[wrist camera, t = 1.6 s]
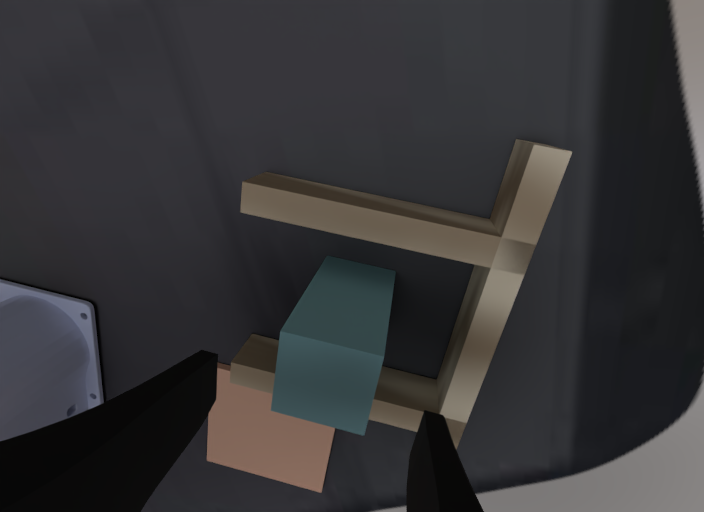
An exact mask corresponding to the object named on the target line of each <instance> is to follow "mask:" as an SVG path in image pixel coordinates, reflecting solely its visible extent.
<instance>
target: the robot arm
mask: <svg viewBox="0 0 704 512" xmlns="http://www.w3.org/2000/svg"><path fill="white" fill-rule="evenodd" d="M217 366H218V354H215V353H211V352H208V351H204V350H201V351H199V352H197V353H195V354H193V355H192V356H190V357H188V358H186V359H185V360H183V361H181V362H179V363H178V364H176V365H174V366H173V367H171V368H169V369H167V370H166V371H164V372H162V373H160V374H159V375H157V376H155V377H153V378H151V379H150V380H148V381H146V382H144V383H142V384H140V385H139V386H137V387H135V388H133V389H131V390H129V391H127V392H125V393H123V394H121V395H119V396H117V397H115V398H113V399H111V400H109V401H107V402H105V403H104V399H103V389H102V380H101V370H100V360H99V350H98V341H97V331H96V321H95V312H94V306H93V305H92V304H91V303H90V302H88V301H85V300H81V299H77V298H73V297H69V296H65V295H61V294H57V293H53V292H49V291H45V290H41V289H37V288H33V287H29V286H25V285H21V284H17V283H13V282H9V281H5V280H1V279H0V512H141V510H142V508H143V507H144V505H145V503H146V502H147V500H148V499H149V497H150V496H151V494H152V493H153V492H154V490H155V489H156V487H157V486H158V484H159V483H160V482H161V480H162V479H163V478H164V476H165V475H166V474H167V472H168V471H169V470H170V468H171V467H172V466H173V464H174V463H175V461H176V460H177V459H178V457H179V456H180V455H181V453H182V452H183V451H184V449H185V448H186V447H187V445H188V444H189V442H190V441H191V440H192V438H193V437H194V436H195V434H196V433H197V431H198V430H199V429H200V427H201V426H202V424H203V422H204V421H205V419H206V417H207V415H208V414H209V412H210V410H211V408H212V406H213V405H214V403H215V401H216V395H217ZM87 409H89V410H87ZM407 512H484V511H483V509H482V507H481V505H480V503H479V501H478V499H477V497H476V495H475V493H474V491H473V488H472V486H471V484H470V482H469V480H468V477H467V475H466V473H465V470H464V468H463V466H462V463H461V461H460V458H459V456H458V453H457V451H456V448H455V445H454V443H453V440H452V437H451V434H450V431H449V428H448V425H447V422H446V419H445V417H444V416H443V415H441V414H438V413H434V412H430V411H426V410H424V413H423V416H422V419H421V422H420V425H419V428H418V431H417V434H416V437H415V440H414V444H413V447H412V450H411V453H410V459H409V469H408V479H407Z"/></svg>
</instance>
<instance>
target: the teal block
mask: <svg viewBox="0 0 704 512" xmlns="http://www.w3.org/2000/svg"><path fill="white" fill-rule="evenodd" d="M395 275H396V271H393V270H389V269H385V268H380V267H376V266H372V265H367V264H363V263H358V262H354V261H350V260H345V259H341V258H336V257H332V256H328V255H327V257H326V258H325V260H324V261H323V263H322V265H321V266H320V268H319V269H318V271H317V273H316V274H315V276H314V277H313V279H312V281H311V282H310V284H309V286H308V287H307V289H306V290H305V292H304V294H303V295H302V297H301V298H300V300H299V302H298V303H297V305H296V306H295V308H294V310H293V311H292V313H291V315H290V316H289V318H288V319H287V321H286V323H285V324H284V326H283V327H282V329H281V331H280V337H279V346H278V354H277V362H276V371H275V379H274V387H273V395H272V404H271V411H273V412H277V413H281V414H285V415H288V416H292V417H296V418H300V419H303V420H307V421H311V422H315V423H318V424H322V425H326V426H329V427H333V428H337V429H341V430H344V431H348V432H352V433H356V434H359V435H363V436H364V434H365V430H366V426H367V422H368V419H369V415H370V411H371V407H372V403H373V399H374V395H375V391H376V387H377V383H378V379H379V375H380V371H381V368H382V364H383V360H384V355H385V348H386V340H387V333H388V326H389V318H390V311H391V304H392V297H393V289H394V282H395Z"/></svg>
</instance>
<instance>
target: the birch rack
mask: <svg viewBox="0 0 704 512" xmlns="http://www.w3.org/2000/svg"><path fill="white" fill-rule="evenodd" d="M571 154H572V152H571V151H568V150H564V149H560V148H557V147H553V146H550V145H545V144H540V143H535V142H530V141H524V140H519V139H516V141H515V144H514V147H513V150H512V153H511V156H510V159H509V162H508V165H507V168H506V171H505V174H504V177H503V180H502V183H501V186H500V189H499V192H498V195H497V198H496V201H495V204H494V208H493V211H492V214H491V217H490V219H487V218H482V217H477V216H473V215H468V214H463V213H458V212H454V211H449V210H444V209H439V208H435V207H430V206H425V205H421V204H416V203H411V202H406V201H402V200H397V199H392V198H387V197H383V196H378V195H373V194H369V193H364V192H359V191H354V190H350V189H345V188H340V187H336V186H331V185H326V184H321V183H317V182H312V181H307V180H302V179H298V178H293V177H288V176H284V175H279V174H274V173H269V172H265V173H262V174H260V175H257V176H255V177H253V178H250V179H248V180H245V181H243V182H242V196H241V213H245V214H250V215H254V216H259V217H263V218H268V219H272V220H277V221H281V222H286V223H290V224H295V225H299V226H304V227H308V228H313V229H317V230H322V231H326V232H331V233H335V234H340V235H344V236H349V237H353V238H358V239H362V240H367V241H371V242H376V243H380V244H385V245H389V246H394V247H398V248H403V249H407V250H412V251H416V252H421V253H425V254H430V255H434V256H439V257H443V258H448V259H452V260H457V261H461V262H466V263H470V264H475V265H474V268H473V271H472V274H471V277H470V280H469V283H468V286H467V289H466V292H465V295H464V298H463V301H462V305H461V308H460V311H459V314H458V317H457V320H456V323H455V326H454V329H453V332H452V335H451V338H450V341H449V344H448V347H447V350H446V353H445V356H444V359H443V362H442V365H441V368H440V371H439V374H438V377H437V380H436V379H432V378H428V377H424V376H420V375H416V374H412V373H408V372H404V371H400V370H396V369H392V368H388V367H384V366H382V368H381V371H380V375H379V379H378V383H377V387H376V391H375V395H374V399H373V403H372V407H371V411H370V415H369V419H370V420H373V421H377V422H381V423H385V424H389V425H392V426H396V427H400V428H404V429H408V430H411V431H415V432H417V431H418V428H419V425H420V422H421V419H422V416H423V413H424V410H426V411H430V412H434V413H438V414H441V415H443V416H444V417H445V419H446V422H447V425H448V428H449V431H450V434H451V437H452V440H453V443H454V445H455V448H456V449H457V446H458V444H459V441H460V439H461V436H462V434H463V431H464V428H465V426H466V423H467V421H468V418H469V416H470V413H471V411H472V408H473V405H474V403H475V400H476V398H477V395H478V393H479V390H480V387H481V385H482V382H483V380H484V377H485V375H486V372H487V370H488V367H489V364H490V362H491V359H492V357H493V354H494V352H495V349H496V347H497V344H498V341H499V339H500V336H501V334H502V331H503V329H504V326H505V323H506V321H507V318H508V316H509V313H510V311H511V308H512V306H513V303H514V300H515V298H516V295H517V293H518V290H519V288H520V285H521V282H522V280H523V277H524V275H525V272H526V270H527V267H528V265H529V262H530V259H531V257H532V254H533V252H534V249H535V247H536V244H537V241H538V239H539V236H540V234H541V231H542V229H543V226H544V224H545V221H546V218H547V216H548V213H549V211H550V208H551V206H552V203H553V200H554V198H555V195H556V193H557V190H558V188H559V185H560V183H561V180H562V177H563V175H564V172H565V170H566V167H567V165H568V162H569V160H570V157H571ZM278 346H279V340H276V339H272V338H268V337H264V336H260V335H256V334H251V336H250V337H249V339H248V340H247V341H246V343H245V344H244V345H243V347H242V348H241V349H240V351H239V352H238V353H237V355H236V356H235V358H234V359H233V360H232V362H231V370H230V383H233V384H236V385H240V386H244V387H248V388H252V389H255V390H259V391H263V392H267V393H271V394H273V387H274V379H275V371H276V362H277V354H278Z"/></svg>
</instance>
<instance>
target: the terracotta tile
mask: <svg viewBox="0 0 704 512" xmlns="http://www.w3.org/2000/svg"><path fill="white" fill-rule="evenodd" d="M230 370H231V366H230V365H226V364H222V363H218V366H217V395H216V401H215V403H214V405H213V406H212V408H211V410H210V412H209V416H208V443H207V461H210V462H214V463H217V464H221V465H224V466H228V467H232V468H235V469H239V470H242V471H246V472H249V473H253V474H256V475H260V476H263V477H267V478H271V479H274V480H278V481H281V482H285V483H288V484H292V485H295V486H299V487H302V488H306V489H309V490H313V491H317V492H320V493H321V492H322V488H323V484H324V479H325V474H326V470H327V465H328V460H329V455H330V451H331V446H332V441H333V437H334V432H335V428H333V427H329V426H326V425H322V424H318V423H315V422H311V421H307V420H303V419H300V418H296V417H292V416H288V415H285V414H281V413H277V412H273V411H271V404H272V395H273V394H271V393H267V392H263V391H259V390H255V389H252V388H248V387H244V386H240V385H236V384H233V383H230Z"/></svg>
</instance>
